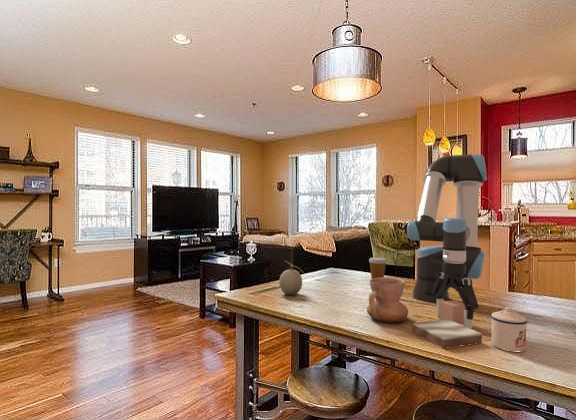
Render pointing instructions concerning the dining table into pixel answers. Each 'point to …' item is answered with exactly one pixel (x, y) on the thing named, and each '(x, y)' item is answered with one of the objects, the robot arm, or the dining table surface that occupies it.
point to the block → (452, 311)
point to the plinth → (447, 333)
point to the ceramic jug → (387, 300)
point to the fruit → (290, 281)
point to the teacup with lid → (508, 330)
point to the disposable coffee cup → (377, 267)
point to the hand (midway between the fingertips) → (453, 322)
